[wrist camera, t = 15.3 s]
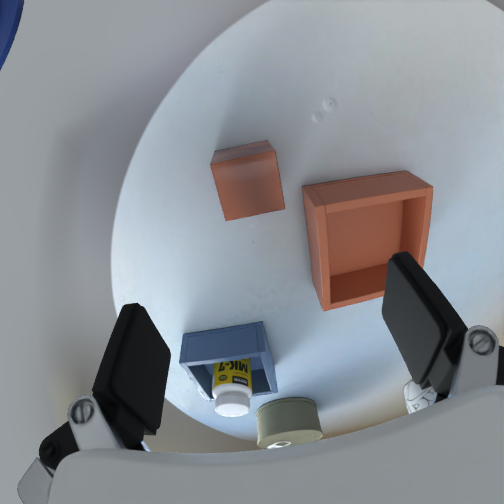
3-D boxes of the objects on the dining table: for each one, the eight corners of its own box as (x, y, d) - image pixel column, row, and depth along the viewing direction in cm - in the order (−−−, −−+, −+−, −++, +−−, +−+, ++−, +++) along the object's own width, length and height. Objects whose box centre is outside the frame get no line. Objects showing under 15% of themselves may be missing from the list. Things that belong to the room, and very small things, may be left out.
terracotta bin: (312, 282, 30) (322, 311, 26) (301, 186, 24) (314, 206, 20) (401, 261, 29) (419, 285, 25) (407, 170, 23) (433, 186, 20)
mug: (440, 375, 49) (456, 408, 40) (413, 395, 52) (427, 428, 44) (422, 369, 45) (440, 407, 36) (392, 391, 48) (406, 429, 40)
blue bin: (207, 375, 39) (206, 401, 35) (182, 334, 33) (178, 363, 29) (274, 366, 38) (278, 392, 34) (262, 321, 33) (265, 351, 29)
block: (226, 199, 24) (225, 221, 21) (214, 151, 22) (210, 164, 18) (276, 189, 24) (285, 209, 20) (267, 139, 22) (275, 150, 18)
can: (328, 404, 47) (335, 433, 41) (284, 425, 52) (288, 452, 46) (287, 391, 43) (293, 426, 37) (242, 414, 47) (243, 445, 41)
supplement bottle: (251, 344, 34) (256, 402, 27) (248, 365, 37) (251, 418, 29) (213, 343, 34) (211, 401, 27) (213, 364, 36) (212, 417, 29)
